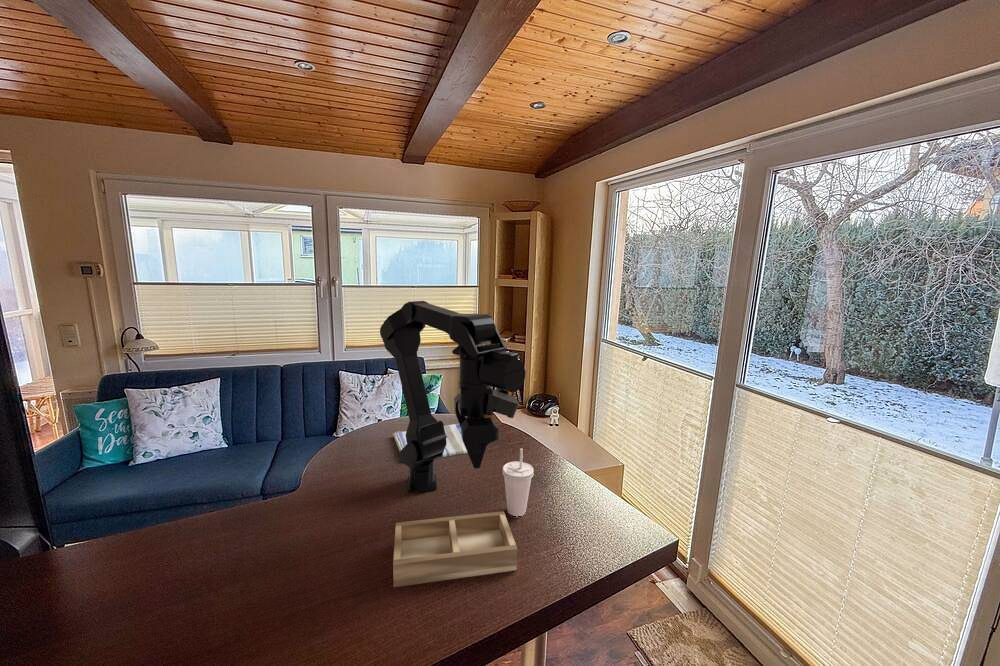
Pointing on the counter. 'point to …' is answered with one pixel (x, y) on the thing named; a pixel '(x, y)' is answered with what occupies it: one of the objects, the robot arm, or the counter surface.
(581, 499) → the counter surface
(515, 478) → the smoothie
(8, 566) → the counter surface
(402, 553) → the tray
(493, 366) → the robot arm
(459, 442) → the dish towel
